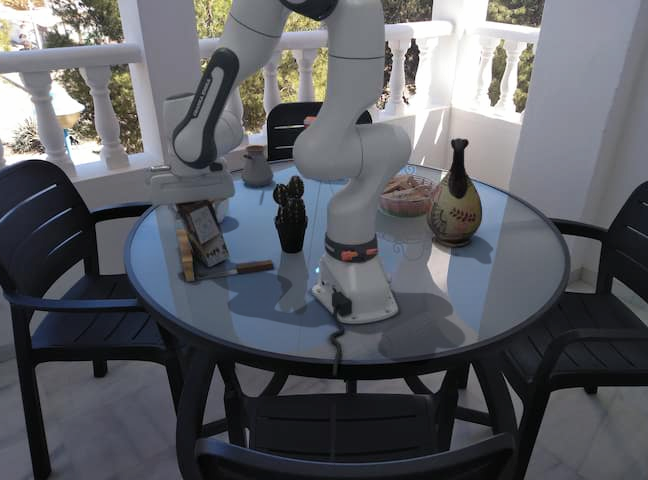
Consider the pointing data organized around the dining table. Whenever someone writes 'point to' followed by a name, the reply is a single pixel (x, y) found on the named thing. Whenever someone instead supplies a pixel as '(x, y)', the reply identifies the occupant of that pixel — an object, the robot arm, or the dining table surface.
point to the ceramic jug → (455, 203)
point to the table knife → (240, 269)
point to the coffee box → (203, 231)
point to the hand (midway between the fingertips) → (196, 216)
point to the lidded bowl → (221, 208)
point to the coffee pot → (256, 167)
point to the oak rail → (186, 255)
